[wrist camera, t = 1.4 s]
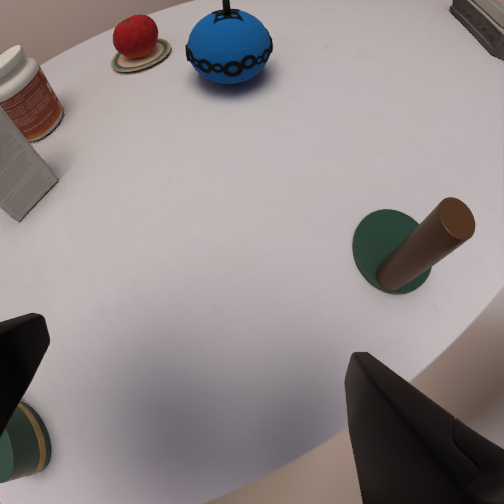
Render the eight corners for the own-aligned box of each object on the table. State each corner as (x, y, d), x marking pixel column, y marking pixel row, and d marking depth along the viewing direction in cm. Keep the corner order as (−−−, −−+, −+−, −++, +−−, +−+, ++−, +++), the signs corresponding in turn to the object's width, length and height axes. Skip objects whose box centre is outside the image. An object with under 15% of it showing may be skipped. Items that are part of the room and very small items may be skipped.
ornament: (277, 96, 30) (283, 13, 20) (192, 106, 29) (177, 23, 20) (263, 54, 33) (264, -17, 23) (191, 62, 32) (179, -9, 23)
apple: (107, 80, 32) (91, 40, 26) (117, 49, 35) (105, 13, 29) (169, 66, 32) (160, 22, 26) (172, 36, 35) (165, -2, 29)
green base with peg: (442, 251, 23) (514, 191, 14) (400, 313, 22) (481, 270, 12) (383, 197, 25) (432, 116, 16) (334, 250, 23) (379, 173, 14)
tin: (64, 452, 17) (27, 463, 13) (27, 484, 16) (-8, 495, 11) (21, 384, 19) (-19, 381, 15) (-12, 421, 18) (-49, 421, 13)
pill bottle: (73, 108, 30) (37, 38, 20) (41, 148, 28) (-7, 80, 18) (46, 103, 31) (11, 42, 21) (16, 139, 29) (-28, 79, 19)
